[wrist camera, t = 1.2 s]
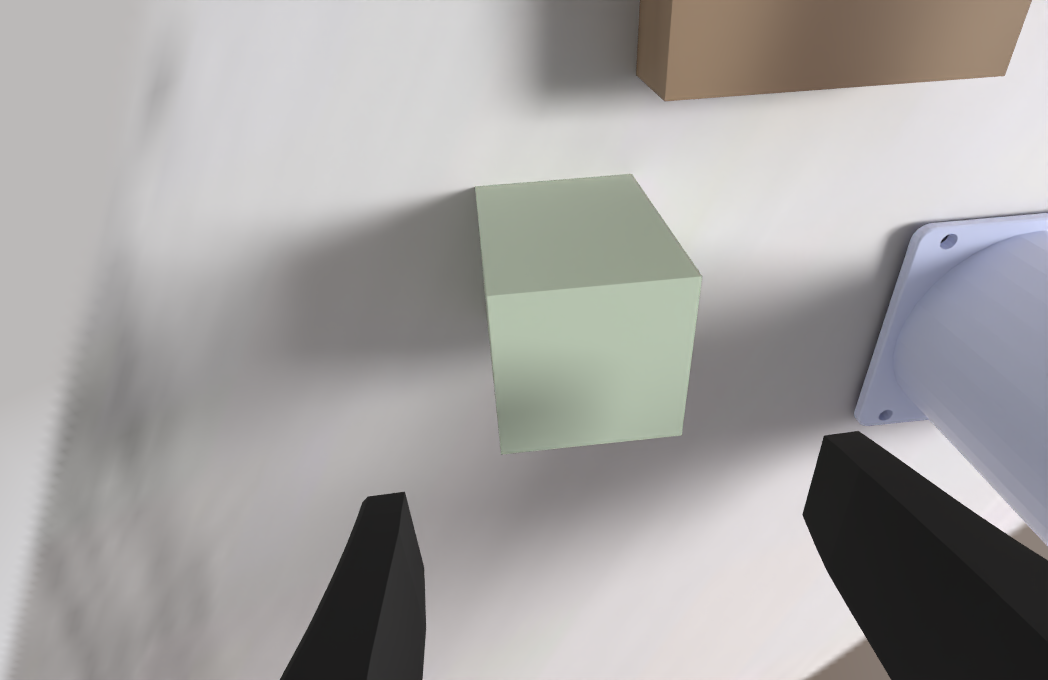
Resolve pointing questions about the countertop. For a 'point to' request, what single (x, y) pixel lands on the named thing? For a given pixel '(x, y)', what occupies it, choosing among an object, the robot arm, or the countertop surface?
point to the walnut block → (819, 44)
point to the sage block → (585, 313)
